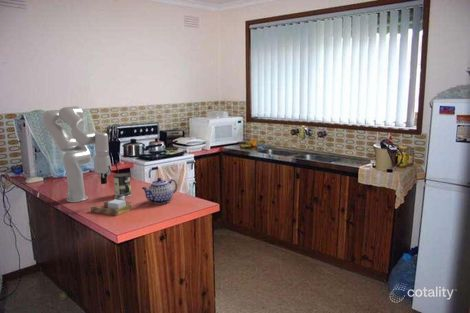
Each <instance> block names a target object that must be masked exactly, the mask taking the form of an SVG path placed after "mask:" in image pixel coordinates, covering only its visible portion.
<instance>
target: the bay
mask: <svg viewBox="0 0 470 313" xmlns="http://www.w3.org/2000/svg"><path fill="white" fill-rule="evenodd" d="M108 202H110V201H107V200H104V201H103V207H100V206H96V205H95V206H94V205H91V206H89V207H90V212H91V213H98V214H104V215H111V216H117V217H118V216H120V215H123V214H124V213H125V214H126V213H127V212H129V211H132V203H129V204H126V206H124V207H122V208H119V209H117V210H116V209H109V208H108Z"/></svg>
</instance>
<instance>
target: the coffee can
mask: <svg viewBox="0 0 470 313" xmlns="http://www.w3.org/2000/svg"><path fill="white" fill-rule="evenodd" d="M112 177H113V184H114V195H115V196H117V195H118V194H122V193H125V192H126V191H125V185H129V191H130V192H129V193H128V194H125V195H124V196H125V198H129V197H131V196H132V188H131V174H130V173H128V172H121V173H120V172H119V173H116V174H114V175H113V176H112ZM115 196H114V197H115Z"/></svg>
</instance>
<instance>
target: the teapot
mask: <svg viewBox="0 0 470 313" xmlns="http://www.w3.org/2000/svg"><path fill="white" fill-rule="evenodd" d="M172 182H173V183H174V189H173V186H172ZM141 189H142V190H143V191H144V193H145V194H144V195H145V198H146V200H147V201H149V202H153V203H154V204H158V205H159V204H160V205H161V204H162V203H163V204H167V203H169V202H170V201H171V200H172V198H173V196H174V194H175V193H176V192H177V189H178V182H177V181H176V180H175V179H173V178H171V179H169V181H168V180H166V179H162V177H157V179H156V180H153V181H151V184H150V185H149V187H148V188H147V187H146V186H143V187H141ZM166 202H167V203H166Z"/></svg>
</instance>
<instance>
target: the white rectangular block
mask: <svg viewBox="0 0 470 313" xmlns="http://www.w3.org/2000/svg"><path fill="white" fill-rule="evenodd" d="M126 201H127V200H125V201H123V200H116V199H115V198H114V199H112V200H110V201H109V202H108V207H107V208H109V209H116V210H117V209H119V208H122V207H124V206H126Z"/></svg>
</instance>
